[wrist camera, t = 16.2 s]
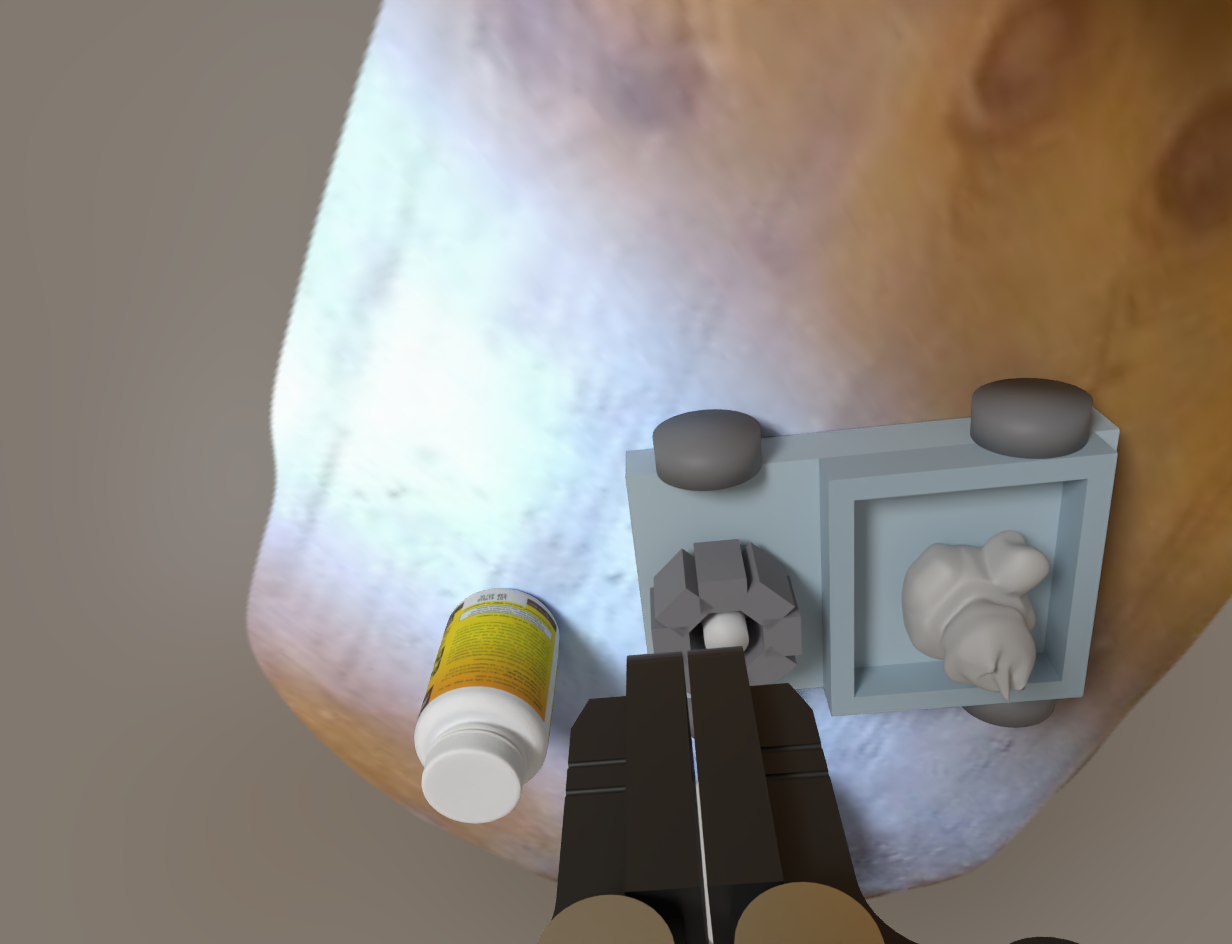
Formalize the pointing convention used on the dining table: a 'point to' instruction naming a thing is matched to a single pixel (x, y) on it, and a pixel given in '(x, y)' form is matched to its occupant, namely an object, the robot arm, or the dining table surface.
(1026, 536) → the chassis
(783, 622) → the spare wheel
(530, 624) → the supplement bottle
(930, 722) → the dining table surface
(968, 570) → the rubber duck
